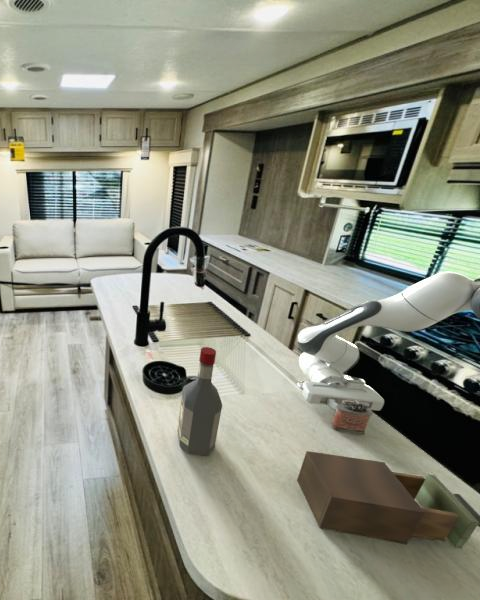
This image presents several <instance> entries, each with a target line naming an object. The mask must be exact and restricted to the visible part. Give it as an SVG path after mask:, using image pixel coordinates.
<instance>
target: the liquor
mask: <svg viewBox="0 0 480 600" xmlns="http://www.w3.org/2000/svg"><path fill="white" fill-rule="evenodd" d="M216 356H217V350H216V349H215V348H213V347H209V346H204V347H201V348H200V353H199V360H198V361H199V364H198V371H197V376H196V378H195V379H194V380H193V381H191V382H189V383H187V384H186V385H184V386H183V388H182V390H181V398H180V407H179V415H178V425H177V438H178V445H179V447H180V448H181V449H182V450H183V451H184V452H185V453H187V454H190V455H199V456H204V457H205V456H206V457H207V456H208V455H210V454H211V453H212V452H213V451H215V447H216V443H217V436H218V431H219V425H220V421H221V415H222V409H223V402H222V399H221V396H220V394H219V390H218V389H217V387H216V386H215V385H214V384H213V383H212V377H213V372H214V365H215V362H216Z"/></svg>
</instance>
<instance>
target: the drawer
mask: <svg viewBox="0 0 480 600" xmlns="http://www.w3.org/2000/svg"><path fill="white" fill-rule="evenodd" d="M392 472H393V474H394V475H395V476H396V477H397V479H398V480H399V481H400V482H401V484H402V485H403V486H404V487H405V489H406V490H407V491H408V492H409V494H410V495H411V496H412V497H413V499H414V500H415V501H416V502H417V503H418V505H419V506H420V507H421V508H422V510H423V511H424V512H425V513H424V515H423V517H422V519H421V520H420V522H419V524H418V526H417V527H416V529H415V531H414V533H413V534H412V536H411V537H419V538H423V539H429V540H434V541H440V542H445V541H446V539H447V540H448V542H449V543H450V544H451V545H452V546H453V548H456V549H460V550H462V549H463V548H464V546H465V545H466V543H467V542H468V540H469V539H470V537H471V536H472V535H473V533H474V532H475V531H476V529H477V528H480V514H479V512H478V511H476V510H475V508H474V507H472V506H471V504H470V503H468V502H467V500H466V499H465V498H464V497H463V496H462V495H461V494H460V493H452V492H451V490H449V489H448V487H447V486H446V485H444V483H443V482H442V481H441V480H440V479H439V478H438V477H437V476H436V475H435V474H432V473H428V474H427V475H426V476H425V477H424V476H423V475H419V474H418V475H417V474H411V473H404V472H397V471H392Z"/></svg>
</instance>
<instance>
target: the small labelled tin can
mask: <svg viewBox="0 0 480 600" xmlns="http://www.w3.org/2000/svg"><path fill="white" fill-rule="evenodd" d="M368 408H369V404H368V403H363V402H360V401H359V400H355V401H349V400H343V401H342V404H338V406H337V411H336V410H335V411H336V412H335V415H334V418H333V420H332V422H331V424H330V428H332V429H333V430H334V431H337V432H341V433H346V434H353V435H365V432H366V428H367V425H368V423H369V420H370V418H371V416H372V414H373V410H370V409H368Z"/></svg>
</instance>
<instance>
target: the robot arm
mask: <svg viewBox="0 0 480 600" xmlns="http://www.w3.org/2000/svg"><path fill="white" fill-rule="evenodd" d="M467 311H472V313H473V314H474V315H475V316H476V318H478V319H479V320H480V277H479V278H476V279H474V280H472V279H470V278H469V277H468V276H466V275H463V274H461V273H458V272H455V271H454V272H453V271H441V272H438V273H436V274H434V275H431V276H429V277H426V278H424V279H422V280H420V281H418V282H416V283H414V284H412V285H409V286H408V287H407V288H405V289H403V290H402V291H400V292H398V293H396V294H394V295H391V296H389V297H385V298H382V299H379V300H369V301H368V300H367V301H364V302H362V303H359V304H357V305H355V306H352V307H350V308H348V309H346V310H344V311H342V312H339V313H337V314H336V315H333V316H331V317H329V318H327V319H325V320H323V321H321V322H318V323H315V324H311V325H308V326H306V327H304V328H302V329H301V330H300V331H299V333H298V334H297V337H296V342H297V347H298V349H299V351H301V352H302V353H300V355H299V357H298V365H299V368H300V370H301V371H302V373H303V375H304V376H305V377H306V378H307V379H308V380H306V381H305V380H300V381H297V383H296V385H297V387H298V388H299V389H300V390H301V393H302V396H303V398H304V400H305V401H306V402H308V403H309V404H314V405H315V404H316V405H325V406H328V407H329V408H331V409H333V410H334V411H337V406H338V404H342V401H343V400H349V401H355V400H359V401H360V402H363V403H368V404H369V408H368V409H370V410H371V411H379V412H380V411H381V410H382V409H383V407H384V405H385V399H384V398H383V397H382V396H381V395H380V394H379V393H378V392H377V391H376V390H375V389H374V388H372V387H371V386H370V385H367V384H366V381H365V380H364V379H363V378H360V377H355V376H352V375H348V374H345V373H347V372H348V371H350V370H351V369H353V368H354V367H355V366H356V365H357V364H358V362H359V360H360V356H361V353H360V349H359V347H358V346H357V345H356V344H354V343H352V342H350V341H348V340H347V339H344V338H342V337H340V335H341V334H344V333H346V332H349V331H350V330H353V329H356V328H359V327H378V328H384V329H389V330H393V331H397V332H407V333H408V332H417V331H421V330H424V329H427V328H429V327H431V326H433V325H435V324H437V323H439V322H441V321H443V320H445V319H447V318H449V317H450V316H452V315H454V314H457V313H461V312H467Z"/></svg>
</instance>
